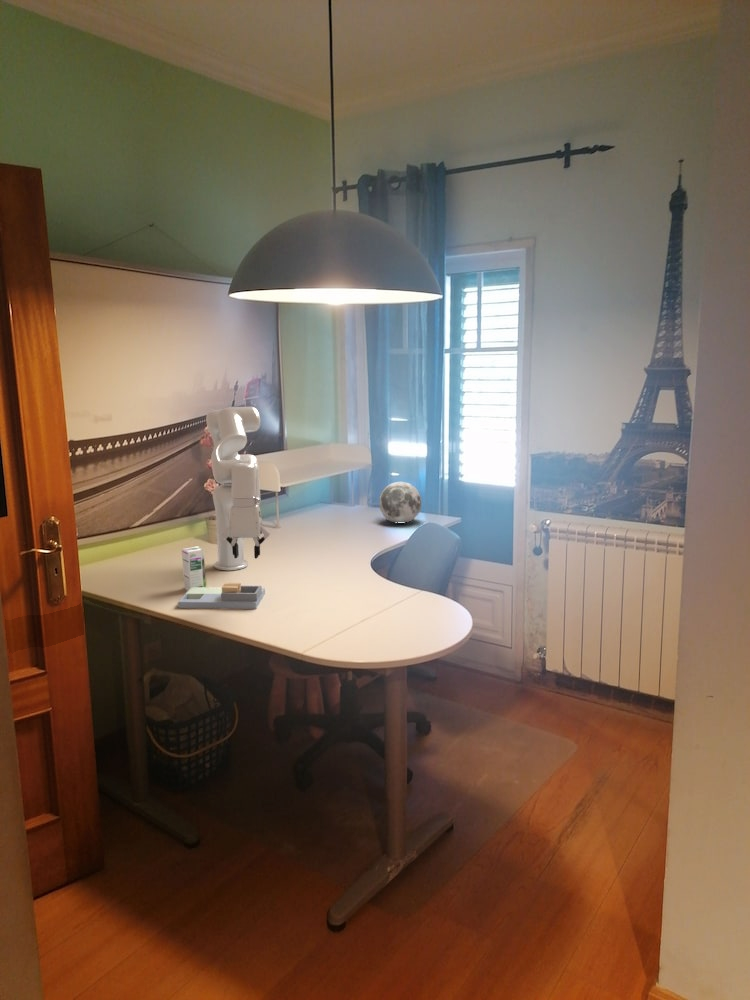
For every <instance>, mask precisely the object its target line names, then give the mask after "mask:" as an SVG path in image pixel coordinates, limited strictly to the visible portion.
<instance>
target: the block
mask: <svg viewBox="0 0 750 1000" xmlns="http://www.w3.org/2000/svg"><path fill="white" fill-rule="evenodd" d="M241 586H242V584H241V582H224V584H223V585H222V587H221V588H222V593H241Z"/></svg>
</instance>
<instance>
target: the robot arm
mask: <svg viewBox="0 0 750 1000" xmlns="http://www.w3.org/2000/svg"><path fill="white" fill-rule="evenodd" d="M205 419H206V420H205V421H206V426H207V430H208V433H209V434H210V437H211V439H212V442H213V450H212V452H211V456H210V459H211V460H210V462H211V469H212V475H213V478H214V480H215V482H217V483H218V485H217V486H215V487H214V489H213V490H212V500H213V506H214V511H215V521H216V541H217V561H215V562H214V566H213V567H214V568H215V569H217V570H221V571H236V570H237V571H238V570H242V569H244V568H246V567H248V565H249V562H248V561H247V560H246V559H244V539H245V538H246V539H252V540H253V541H254V544H255V545H254V546H253V547H254V548H253V549H254V550H253V552H254V556H253V557H254V559H258V558H259V556H261V544H262V543H263V542H264V541H265V540H267V539H268V538H269V537H270V532H269V531H268V530H267V529H266V528H265V527H264V526H263V520H262V519H263V518H262V512H261V508H260V504H261V503H262V499H261V483H260V466H259V465H260V464H259V461H258V458H257V457H256V456H255V455H254V454H251V453H250V454H249V453H247V454H239V452H240V451H241V450H243V449H244V448H245V447H246V445H247V443H248V439H247V438H248V437H247V433H253V432H257V431H258V430H259V429H260V428H261V427H260V426H261V416H260V412H259V411H258V409H257V408H256V407H254V406H229V407H225V408H221V409H213V410H211V411H209V412H207V414H206V417H205ZM219 484H220V485H219ZM262 534H263V535H262ZM261 535H262V537H260V536H261Z"/></svg>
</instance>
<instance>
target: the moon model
mask: <svg viewBox="0 0 750 1000" xmlns="http://www.w3.org/2000/svg"><path fill="white" fill-rule="evenodd" d="M378 503H379V504H378V505H379V510H380V513H381V514H382V516H383V517H384V518H385V519H386V520H387V521H389V522H391V523H393V522H397V523H398V522H407V523H410V522H411V521H413V520H414V519H415V518H416V517H417V516H418V515H419V513H420V511H421V509H422V497H421V494H420V491H418V489H417V488H416V487H415V486H414V485H412V484H411V483H409V482H406V481H396V482H391V483H390V484H388V485H387V486H386V487H385V488H384V489H383V490H382V491H381V494H380V496H379V502H378ZM409 521H410V522H409ZM397 523H396V524H397Z"/></svg>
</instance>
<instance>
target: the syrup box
mask: <svg viewBox="0 0 750 1000" xmlns="http://www.w3.org/2000/svg"><path fill="white" fill-rule="evenodd" d="M181 555H182V570H183V571H182V572H183V585H184V586H183V587H184V589H185V590H186V592H188V590H189V589H190V588H191V587H207V583H206V566H205V565H206V563H205V551H204V548H202V547H201V546H198V545H197V546H193V547H187V548H181Z"/></svg>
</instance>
